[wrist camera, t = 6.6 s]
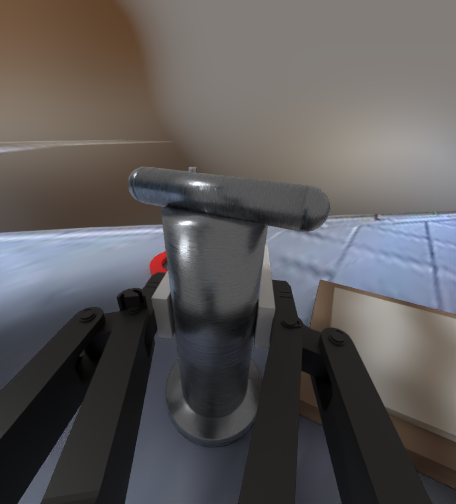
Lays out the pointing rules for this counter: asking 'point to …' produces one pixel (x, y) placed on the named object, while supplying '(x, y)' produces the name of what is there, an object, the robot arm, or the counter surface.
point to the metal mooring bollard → (219, 287)
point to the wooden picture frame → (399, 369)
